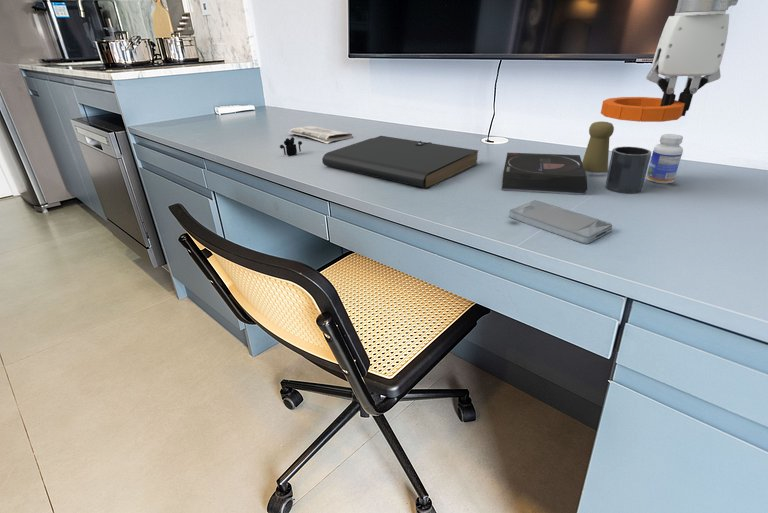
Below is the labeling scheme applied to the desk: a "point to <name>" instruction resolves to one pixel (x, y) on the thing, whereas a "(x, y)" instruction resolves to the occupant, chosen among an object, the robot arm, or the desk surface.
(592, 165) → the olive pawn
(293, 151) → the wireless earbuds
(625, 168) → the cup
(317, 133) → the newspaper
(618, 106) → the ring
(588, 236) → the phone
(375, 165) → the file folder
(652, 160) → the pill bottle
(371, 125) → the desk surface
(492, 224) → the desk surface
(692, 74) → the robot arm
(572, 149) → the desk surface
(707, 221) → the desk surface
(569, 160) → the portable cd player
